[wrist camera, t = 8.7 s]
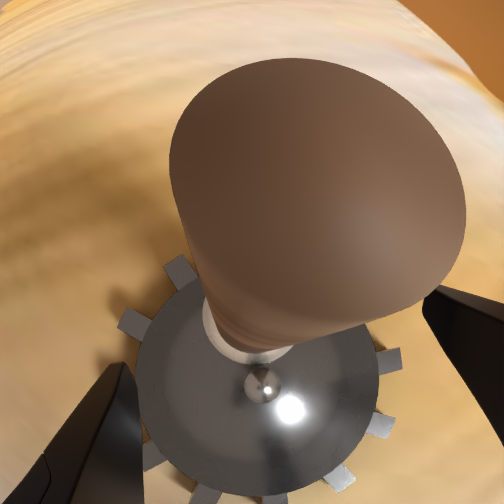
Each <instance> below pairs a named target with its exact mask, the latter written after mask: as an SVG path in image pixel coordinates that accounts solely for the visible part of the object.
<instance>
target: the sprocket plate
mask: <svg viewBox="0 0 504 504" xmlns="http://www.w3.org/2000/svg"><path fill="white" fill-rule="evenodd" d="M163 268H164V270H165V271H166V273H167V274H168V276H169V277H170V279H171V280H172V282H173V284H174V285H175V287H176V288H177V290H178V291H177V292H176V293H175V294H174V295H173V296H172V297H171V298H170V299H169V300H168V301H167V302H166V303H165V304H164V305H163V306H162V307H161V309H160V310H159V311H158V313H157V314H156V315H155V317H154V318H153V320H151V319H149V318H147V317H146V316H144V315H142V314H140V313H138V312H136V311H134V310H133V309H131V308H129V307H127V308H126V310H125V312H124V314H123V316H122V318H121V320H120V322H119V324H118V326H117V328H118V329H120V330H121V331H123V332H125V333H127V334H128V335H130V336H132V337H134V338H135V339H137V340H139V341H141V342H142V343H141V345H140V349H139V353H138V357H137V361H136V371H135V379H134V380H135V382H136V384H137V389H138V400H139V410H140V415H141V418H142V421H143V424H144V426H145V428H146V430H147V432H148V434H149V436H150V438H151V439H150V440H148V441H146V442H145V443H143V470H144V472H146V471H148V470H149V469H151V468H153V467H155V466H157V465H159V464H161V463H163V462H164V461H166V460H168V461H169V462H170V463H171V464H172V465H174V466H175V467H176V468H177V469H178V470H180V471H181V472H182V473H183V474H185V475H187V476H188V477H190V478H191V479H193V480H194V481H196V482H197V484H196V486H195V488H194V490H193V492H192V494H191V497H190V501H189V504H216V503H217V502H218V500H219V498H220V496H221V494H222V493H223V492H224V493H228V494H234V495H240V496H256V497H260V496H261V500H262V504H288V499H287V493H288V492H291V491H294V490H297V489H300V488H303V487H306V486H308V485H310V484H312V483H314V482H316V481H318V480H320V479H321V478H324V479H325V480H326V481H327V482H328V484H329V485H330V486H331V487H332V488H333V489H334V490H335V491H336V492H337V493H340V492H341V491H342V490H343V489H345V488H346V487H347V486H349V485H350V484H351V483H352V482H354V481H355V480H356V478H355V477H354V476H353V475H352V474H351V473H350V472H349V470H348V469H347V468H346V467H345V466H344V465H343V464H342V462H343V461H344V460H345V459H346V458H347V457H348V456H349V455H350V454H351V453H352V451H353V450H354V449H355V448H356V446H357V445H358V443H359V442H360V440H361V439H362V437H363V436H364V434H365V433H367V434H371V435H375V436H378V437H382V438H386V439H388V436H389V434H390V432H391V429H392V427H393V424H394V422H395V419H396V418H394V417H390V416H387V415H383V414H380V413H377V412H374V410H375V406H376V401H377V397H378V388H379V375H383V374H386V373H390V372H394V371H398V370H401V369H402V360H401V353H400V347H399V348H392V349H386V350H382V351H377V352H376V350H375V347H374V344H373V341H372V338H371V335H370V333H369V331H368V329H367V327H366V325H365V323H364V324H361V325H358V326H355V327H352V328H349V329H346V330H343V331H339V332H336V333H333V334H330V335H326V336H323V337H319V338H316V339H313V340H309V341H305V342H302V343H298V344H295V345H291V346H287V347H283V348H279V349H276V350H272V351H268V352H264V353H258V354H251V353H245V352H241V351H238V350H236V349H234V348H233V347H231V346H230V345H229V344H227V343H226V342H225V341H224V339H223V338H222V337H221V335H220V334H219V332H218V330H217V327H216V324H215V322H214V319H213V316H212V313H211V310H210V307H209V305H208V302H207V299H206V296H205V293H204V290H203V287H202V284H201V281H200V278H199V277H198V276H197V274H196V273H195V271H194V270H193V268H192V267H191V265H190V264H189V262H188V261H187V260H186V258H185V257H184V255H183V254H182V255H180V256H179V257H177V258H175V259H174V260H172V261H171V262H169V263H168V264H166V265H165V266H163Z"/></svg>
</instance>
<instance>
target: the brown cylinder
mask: <svg viewBox="0 0 504 504" xmlns="http://www.w3.org/2000/svg"><path fill="white" fill-rule="evenodd" d="M169 172H170V179H171V185H172V190H173V195H174V198H175V201H176V205H177V208H178V212H179V215H180V218H181V222H182V225H183V228H184V231H185V235H186V238H187V241H188V244H189V247H190V250H191V254H192V257H193V260H194V263H195V266H196V269H197V272H198V275H199V278H200V281H201V284H202V287H203V290H204V293H205V296H206V299H207V302H208V305H209V307H210V310H211V313H212V316H213V319H214V322H215V324H216V327H217V330H218V332H219V334H220V335H221V337H222V338H223V339H224V341H225V342H226V343H227V344H229V345H230V346H231V347H233V348H234V349H236V350H238V351H241V352H245V353H251V354H258V353H264V352H268V351H272V350H276V349H279V348H283V347H287V346H291V345H295V344H298V343H302V342H305V341H309V340H313V339H316V338H319V337H323V336H326V335H330V334H333V333H336V332H339V331H343V330H346V329H349V328H352V327H355V326H358V325H361V324H364V323H367V322H370V321H373V320H376V319H379V318H382V317H385V316H388V315H391V314H394V313H396V312H398V311H401V310H403V309H405V308H408V307H410V306H412V305H414V304H415V303H417V302H419V301H420V300H422V299H423V298H425V297H426V296H428V295H429V294H430V293H431V292H432V291H433V290H434V289H435V288H436V287H437V286H439V285H440V284H441V282H442V281H443V280H444V278H445V277H446V276H447V274H448V273H449V272H450V270H451V269H452V267H453V265H454V263H455V261H456V259H457V257H458V255H459V252H460V249H461V246H462V242H463V239H464V233H465V226H466V204H465V195H464V190H463V186H462V181H461V178H460V175H459V172H458V169H457V166H456V164H455V162H454V160H453V157H452V155H451V153H450V151H449V149H448V148H447V146H446V144H445V143H444V141H443V140H442V138H441V136H440V135H439V134H438V132H437V131H436V130H435V128H434V127H433V126H432V124H431V123H430V122H429V121H428V120H427V119H426V118H425V117H424V116H423V114H422V113H421V112H420V111H419V110H418V109H417V108H415V107H414V106H413V105H412V104H411V103H410V102H409V101H408V100H406V99H405V98H404V97H402V96H401V95H400V94H398V93H397V92H396V91H394V90H393V89H391V88H390V87H388V86H386V85H385V84H383V83H382V82H380V81H378V80H376V79H374V78H372V77H370V76H368V75H366V74H364V73H361V72H359V71H356V70H354V69H351V68H348V67H345V66H342V65H338V64H334V63H330V62H326V61H320V60H313V59H302V58H282V59H271V60H265V61H259V62H255V63H252V64H248V65H245V66H242V67H239V68H237V69H234V70H232V71H230V72H228V73H226V74H224V75H222V76H220V77H218V78H217V79H215V80H214V81H213V82H211V83H210V84H208V85H207V86H206V87H205V88H204V89H202V90H201V91H200V92H199V93H198V94H197V95H196V96H195V97H194V98H193V100H192V101H191V102H190V103H189V105H188V106H187V107H186V109H185V110H184V112H183V114H182V116H181V117H180V119H179V121H178V123H177V126H176V129H175V131H174V134H173V137H172V142H171V148H170V154H169Z"/></svg>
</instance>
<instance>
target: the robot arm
mask: <svg viewBox="0 0 504 504" xmlns="http://www.w3.org/2000/svg"><path fill="white" fill-rule="evenodd" d="M422 314H423V316H424V318H425V320H426V321H427V323H428V325H429V326H430V328H431V330H432V332H433V333H434V335H435V337H436V338H437V340H438V342H439V344H440V346H441V347H442V349H443V351H444V352H445V354H446V355H447V357H448V358H449V360H450V361H451V362H452V364H453V365H454V367H455V368H456V370H457V371H458V373H459V374H460V376H461V377H462V379H463V380H464V382H465V383H466V385H467V386H468V388H469V390H470V391H471V393H472V394H473V396H474V397H475V399H476V401H477V402H478V404H479V405H480V407H481V409H482V410H483V412H484V413H485V415H486V417H487V418H488V420H489V422H490V423H491V425H492V427H493V429H494V430H495V432H496V434H497V436H498V437H499V439H500V441H501V442H502V445H503V447H504V304H503V303H500V302H497V301H493V300H490V299H487V298H483V297H480V296H477V295H473V294H470V293H466V292H463V291H460V290H456V289H453V288H450V287H446V286H443V285H439V286H437V287H436V288H435V289H434V290H433V291H432V292H431V293H430V294H429V295H428V296H426V297H425V298H424V301H423V306H422ZM2 504H144V485H143V442H142V429H141V420H140V410H139V400H138V389H137V384H136V382H135V380H134V378H133V376H132V374H131V372H130V370H129V368H128V366H127V365H126V363H125V362H116V363H111V364H109V365H108V367H107V368H106V369H105V371H104V372H103V373H102V374H101V376H100V377H99V378H98V379H97V381H96V382H95V383H94V385H93V386H92V387H91V388H90V390H89V391H88V392H87V394H86V395H85V396H84V398H83V399H82V400H81V402H80V403H79V404H78V405H77V407H76V408H75V409H74V411H73V412H72V413H71V415H70V416H69V417H68V419H67V420H66V421H65V423H64V424H63V425H62V427H61V428H60V430H59V431H58V432H57V434H56V435H55V436H54V438H53V439H52V440H51V442H50V443H49V445H48V446H47V447H46V449H45V450H44V454H43V453H42V454H41V455H40V457H39V458H38V460H37V461H36V462H35V464H34V465H33V467H32V468H31V469H30V471H29V472H28V473H27V475H26V476H25V477H24V478H23V480H22V481H21V482H20V483H19V484H18V486H17V487H16V488H15V489H14V490H13V492H12V493H11V494H10V495H9V496H8V497H7V498H6V500H5V501H4V502H3V503H2Z"/></svg>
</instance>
